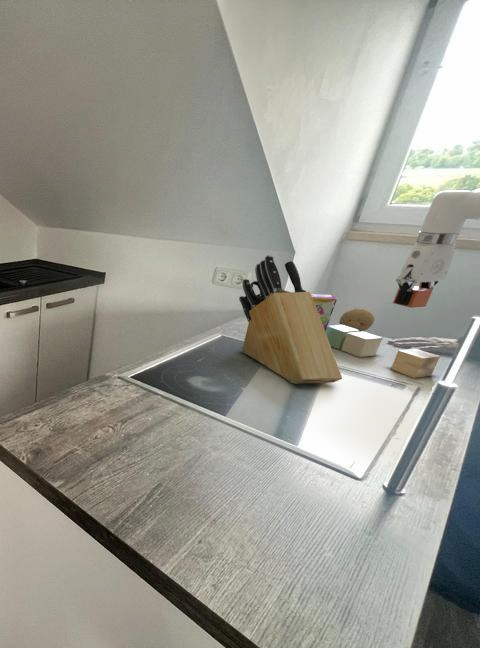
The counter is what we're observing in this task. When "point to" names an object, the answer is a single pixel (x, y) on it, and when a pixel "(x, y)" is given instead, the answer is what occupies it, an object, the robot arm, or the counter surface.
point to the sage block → (338, 334)
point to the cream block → (361, 344)
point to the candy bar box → (324, 307)
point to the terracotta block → (417, 297)
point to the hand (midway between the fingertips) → (409, 302)
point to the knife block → (286, 328)
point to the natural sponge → (357, 319)
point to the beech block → (415, 363)
